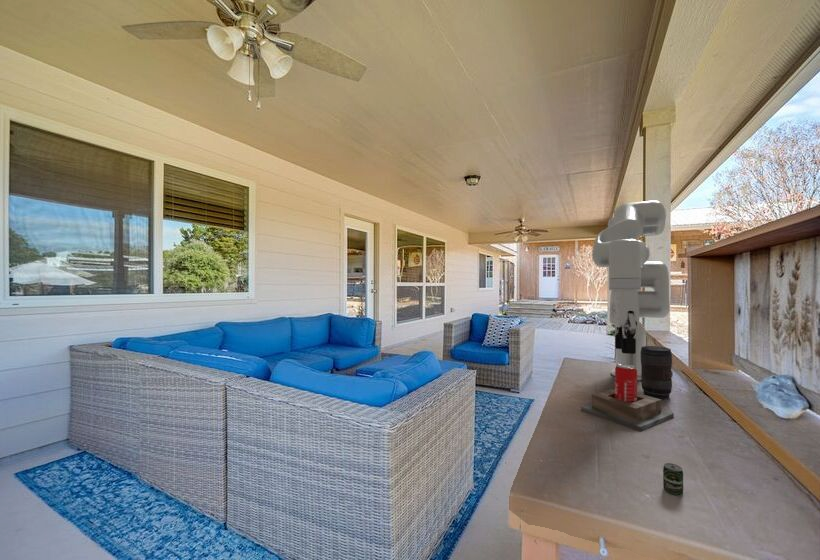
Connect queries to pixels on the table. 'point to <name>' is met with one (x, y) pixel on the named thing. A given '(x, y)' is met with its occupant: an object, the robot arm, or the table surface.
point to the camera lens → (656, 371)
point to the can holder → (628, 410)
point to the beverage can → (626, 383)
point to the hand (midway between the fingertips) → (625, 350)
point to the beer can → (673, 479)
